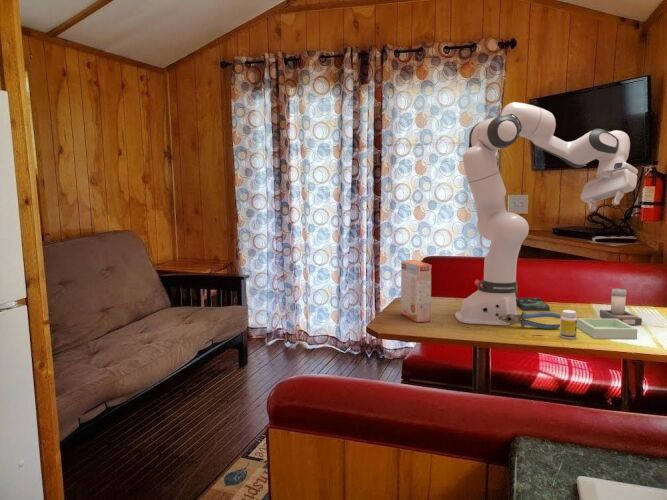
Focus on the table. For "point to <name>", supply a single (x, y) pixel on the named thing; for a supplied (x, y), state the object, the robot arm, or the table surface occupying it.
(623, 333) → the tray
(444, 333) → the table surface
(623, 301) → the fuse
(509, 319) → the pliers
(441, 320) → the table surface
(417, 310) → the cracker box
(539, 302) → the disk drive
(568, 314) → the supplement bottle
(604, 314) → the dark grey tray
